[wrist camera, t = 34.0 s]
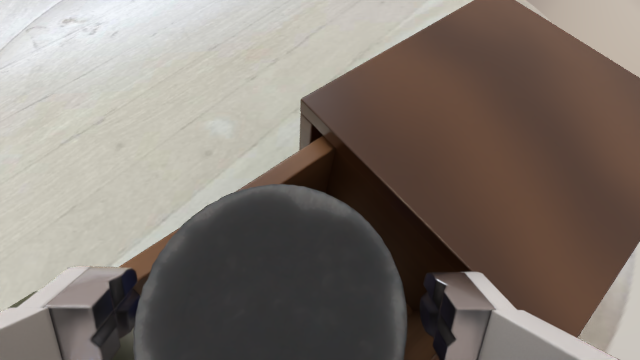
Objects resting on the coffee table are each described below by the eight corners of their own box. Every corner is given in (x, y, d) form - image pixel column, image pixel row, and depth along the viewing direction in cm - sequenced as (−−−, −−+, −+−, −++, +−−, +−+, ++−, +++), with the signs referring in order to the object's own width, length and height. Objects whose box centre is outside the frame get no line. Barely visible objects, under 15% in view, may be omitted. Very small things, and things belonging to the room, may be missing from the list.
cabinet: (425, 348, 17) (562, 362, 8) (297, 197, 20) (299, 98, 12) (548, 208, 21) (716, 124, 13) (426, 105, 25) (495, -13, 16)
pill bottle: (310, 240, 17) (337, 113, 7) (371, 347, 15) (530, 373, 5) (203, 299, 15) (43, 234, 5) (255, 430, 13) (145, 732, 3)
